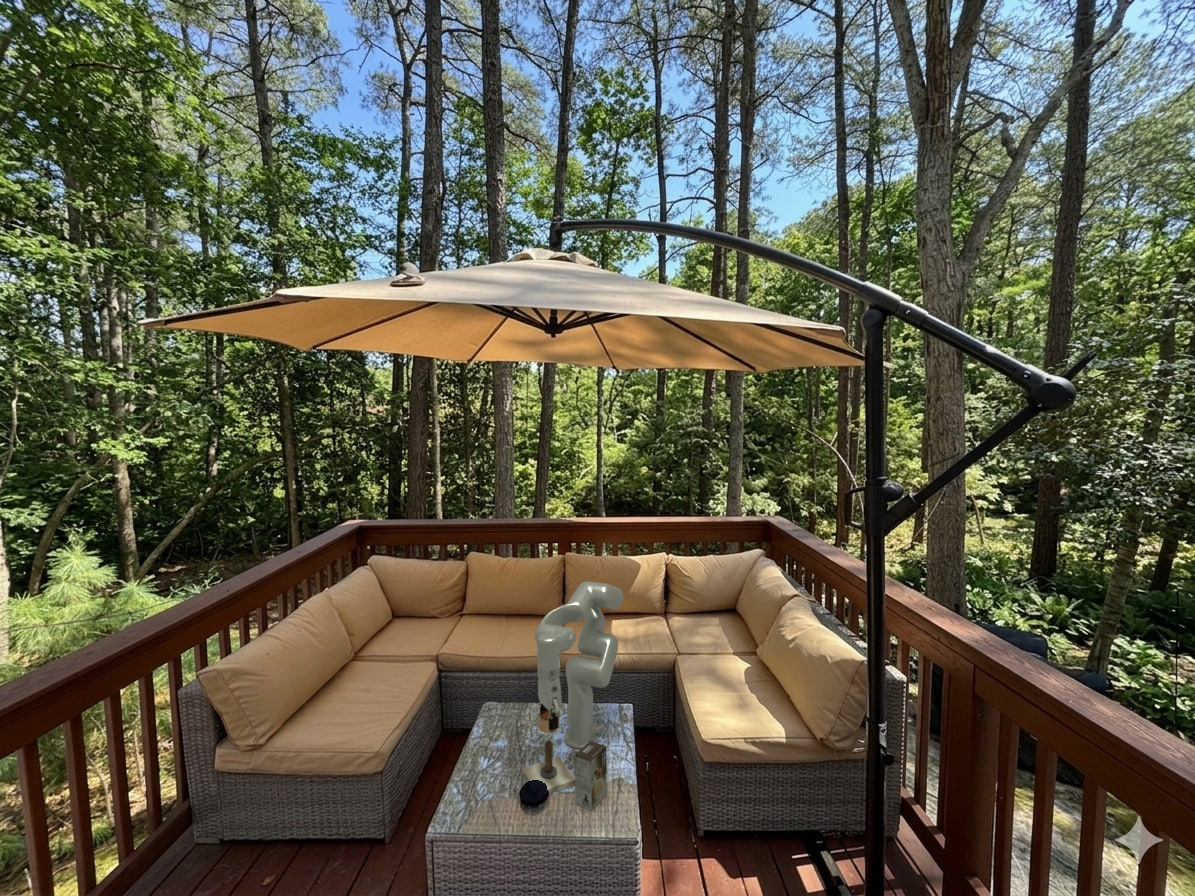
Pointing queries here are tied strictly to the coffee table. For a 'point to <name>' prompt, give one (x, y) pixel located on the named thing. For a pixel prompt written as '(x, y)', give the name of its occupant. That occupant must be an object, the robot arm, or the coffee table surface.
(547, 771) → the post board
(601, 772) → the coffee box
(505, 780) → the coffee table surface
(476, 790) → the coffee table surface
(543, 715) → the beige thick ring
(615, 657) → the robot arm
